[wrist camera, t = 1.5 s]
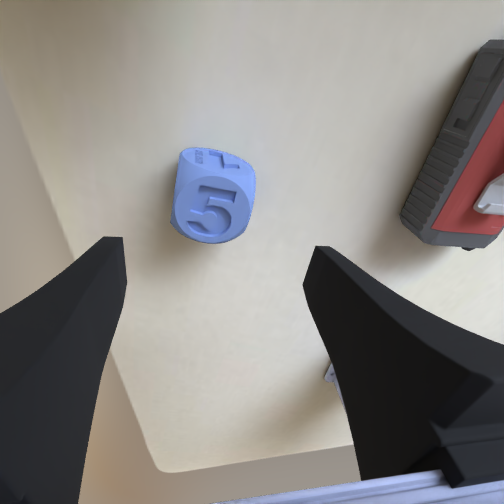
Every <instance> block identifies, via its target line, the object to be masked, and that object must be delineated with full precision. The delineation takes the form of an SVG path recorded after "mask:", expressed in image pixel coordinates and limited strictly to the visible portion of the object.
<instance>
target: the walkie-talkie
mask: <svg viewBox="0 0 504 504" xmlns="http://www.w3.org/2000/svg"><path fill="white" fill-rule="evenodd" d="M399 216H400V218H401V221H402V223H403V225H405V226H406V227H407V228H408V229H409V230H410V231H411V232H412V233H414V234H415V235H416V236H417V237H418V238H419V239H420V240H421V241H423V242H424V243H427V244H430V245H439V246H455V247H462V249H464V250H467V251H470V250H473V249H475V248H485V247H486V246H487V245H489V244H490V243H491V242H492V241H494V240H495V239H496V238H497V236H498V235H499V234H500V233H501V231H502V229H503V228H504V40H489V41H488V42H487V43H486V44H485V45H483V46H482V47H481V48H480V50H479V52H478V54H477V57H476V59H475V61H474V63H473V65H472V67H471V69H470V71H469V73H468V75H467V77H466V79H465V81H464V83H463V85H462V87H461V89H460V92H459V94H458V96H457V98H456V100H455V102H454V104H453V106H452V108H451V110H450V112H449V114H448V116H447V118H446V120H445V122H444V125H443V127H442V129H441V131H440V134H439V136H438V137H437V139H436V142H435V144H434V146H433V147H432V150H431V152H430V154H429V155H428V159H427V161H426V163H425V164H424V167H423V169H422V171H421V172H420V175H419V177H418V179H417V180H416V183H415V185H414V186H413V188H412V191H411V193H410V195H409V198H408V200H407V201H406V204H405V206H404V207H403V209H402V212H401V214H400V215H399Z"/></svg>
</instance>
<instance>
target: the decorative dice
mask: <svg viewBox="0 0 504 504" xmlns="http://www.w3.org/2000/svg"><path fill="white" fill-rule="evenodd" d="M255 187H256V178H255V172H254V170H253V168H252V166H251V165H250V164H249V163H247V162H246V161H244V160H242V159H240V158H238V157H236V156H234V155H231V154H228V153H225V152H221V151H218V150H213V149H207V148H188V149H185V150H184V151H182V152H181V153H180V156H179V163H178V170H177V177H176V184H175V192H174V199H173V206H172V214H171V221H170V223H171V224H172V226H173V227H174V228H175V229H176V230H177V231H178V232H179V233H181V234H182V235H184V236H185V237H187V238H190V239H192V240H195V241H198V242H203V243H211V244H218V243H224V242H228V241H230V240H233V239H234V238H236V237H238V236H239V235H241V234H242V233H243V232H244V231H245V229H246V227H247V225H248V222H249V219H250V216H251V212H252V208H253V203H254V197H255Z"/></svg>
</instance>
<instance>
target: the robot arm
mask: <svg viewBox="0 0 504 504" xmlns="http://www.w3.org/2000/svg"><path fill="white" fill-rule="evenodd" d="M126 286H127V276H126V266H125V256H124V246H123V237H102V238H101V239H100V240H99V241H98V242H96V243H95V244H94V245H93V246H92V247H91V248H90V249H88V250H87V251H86V252H85V253H84V254H83V255H82V256H80V257H79V258H78V259H77V260H76V261H75V262H73V263H72V264H71V265H70V266H69V267H67V268H66V269H65V270H64V271H63V272H61V273H60V274H59V275H57V276H56V277H55V278H53V279H52V280H51V281H49V282H48V283H47V284H45V285H44V286H43V287H41V288H40V289H38V290H37V291H35V292H34V293H33V294H31V295H29V296H28V297H26V298H25V299H23V300H22V301H20V302H19V303H17V304H15V305H14V306H12V307H10V308H9V309H7V310H5V311H4V312H2V313H0V504H78V499H79V494H80V487H81V481H82V475H83V469H84V463H85V458H86V452H87V447H88V441H89V435H90V430H91V425H92V419H93V414H94V409H95V404H96V399H97V395H98V390H99V385H100V380H101V376H102V372H103V368H104V364H105V361H106V358H107V355H108V352H109V349H110V346H111V343H112V339H113V336H114V333H115V330H116V327H117V324H118V321H119V318H120V314H121V311H122V308H123V303H124V298H125V292H126ZM303 289H304V293H305V297H306V300H307V304H308V307H309V310H310V312H311V314H312V317H313V319H314V322H315V324H316V326H317V329H318V331H319V333H320V336H321V338H322V340H323V343H324V345H325V347H326V350H327V352H328V354H329V357H330V360H331V362H332V363H331V365H330V367H329V369H328V371H327V373H326V375H325V377H324V378H325V381H326V382H334V384H335V387H336V389H337V392H338V394H339V397H340V399H341V402H342V404H343V407H344V409H345V412H346V414H347V417H348V422H349V426H350V430H351V434H352V438H353V442H354V447H355V452H356V456H357V461H358V466H359V471H360V476H361V481H358V482H351V483H345V484H338V485H331V486H325V487H318V488H311V489H304V490H298V491H291V492H285V493H278V494H271V495H264V496H258V497H251V498H245V499H238V500H231V501H224V502H217V503H210V504H504V345H503V344H500V343H497V342H494V341H492V340H489V339H487V338H484V337H482V336H480V335H477V334H475V333H472V332H470V331H467V330H465V329H463V328H461V327H459V326H456V325H454V324H452V323H450V322H448V321H446V320H444V319H442V318H440V317H438V316H436V315H434V314H432V313H430V312H428V311H426V310H424V309H422V308H420V307H419V306H417V305H415V304H413V303H412V302H410V301H408V300H407V299H405V298H403V297H402V296H400V295H398V294H397V293H395V292H394V291H392V290H391V289H389V288H388V287H386V286H385V285H383V284H382V283H380V282H379V281H377V280H376V279H374V278H373V277H372V276H370V275H369V274H368V273H366V272H365V271H363V270H362V269H361V268H359V267H358V266H357V265H355V264H354V263H353V262H351V261H350V260H349V259H347V258H346V257H345V256H343V255H342V254H340V253H339V252H338V251H336V250H335V249H333V248H331V247H330V246H315V249H314V252H313V255H312V258H311V261H310V264H309V267H308V270H307V273H306V276H305V279H304V282H303Z"/></svg>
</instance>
